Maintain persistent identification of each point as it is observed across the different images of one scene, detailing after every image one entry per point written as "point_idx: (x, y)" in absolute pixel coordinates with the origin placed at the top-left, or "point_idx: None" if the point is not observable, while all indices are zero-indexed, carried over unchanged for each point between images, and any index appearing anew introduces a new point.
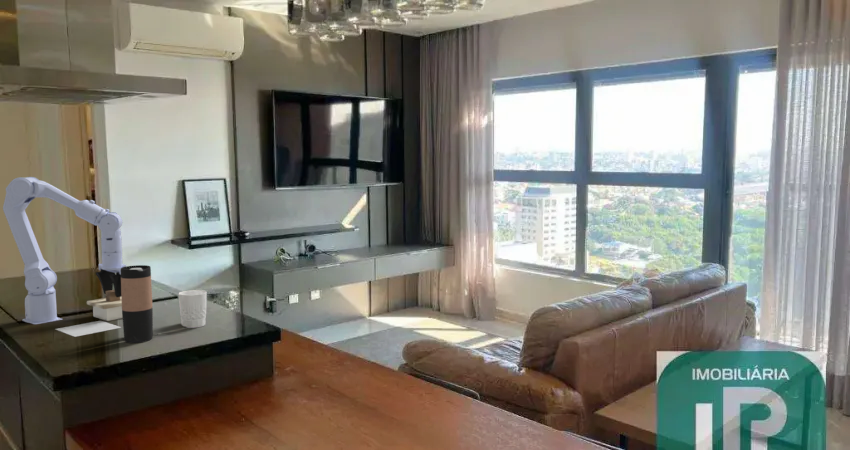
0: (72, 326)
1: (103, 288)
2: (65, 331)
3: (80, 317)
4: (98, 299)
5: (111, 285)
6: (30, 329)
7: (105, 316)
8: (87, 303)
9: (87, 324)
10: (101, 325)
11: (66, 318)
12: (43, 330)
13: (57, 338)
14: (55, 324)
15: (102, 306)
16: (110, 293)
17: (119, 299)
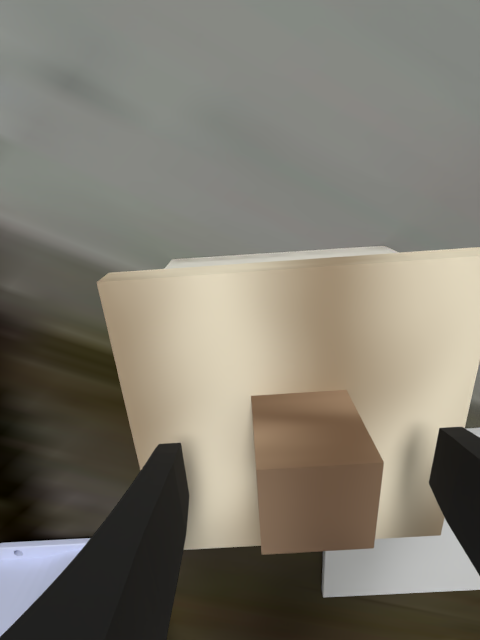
0: (339, 551)
1: (176, 568)
2: (402, 585)
3: (123, 462)
4: None
5: (156, 519)
6: (218, 625)
7: None
8: None
9: None
10: None
11: (99, 507)
12: (275, 607)
13: (448, 608)
14: (199, 562)
15: (415, 529)
16: (370, 534)
17: (348, 401)
